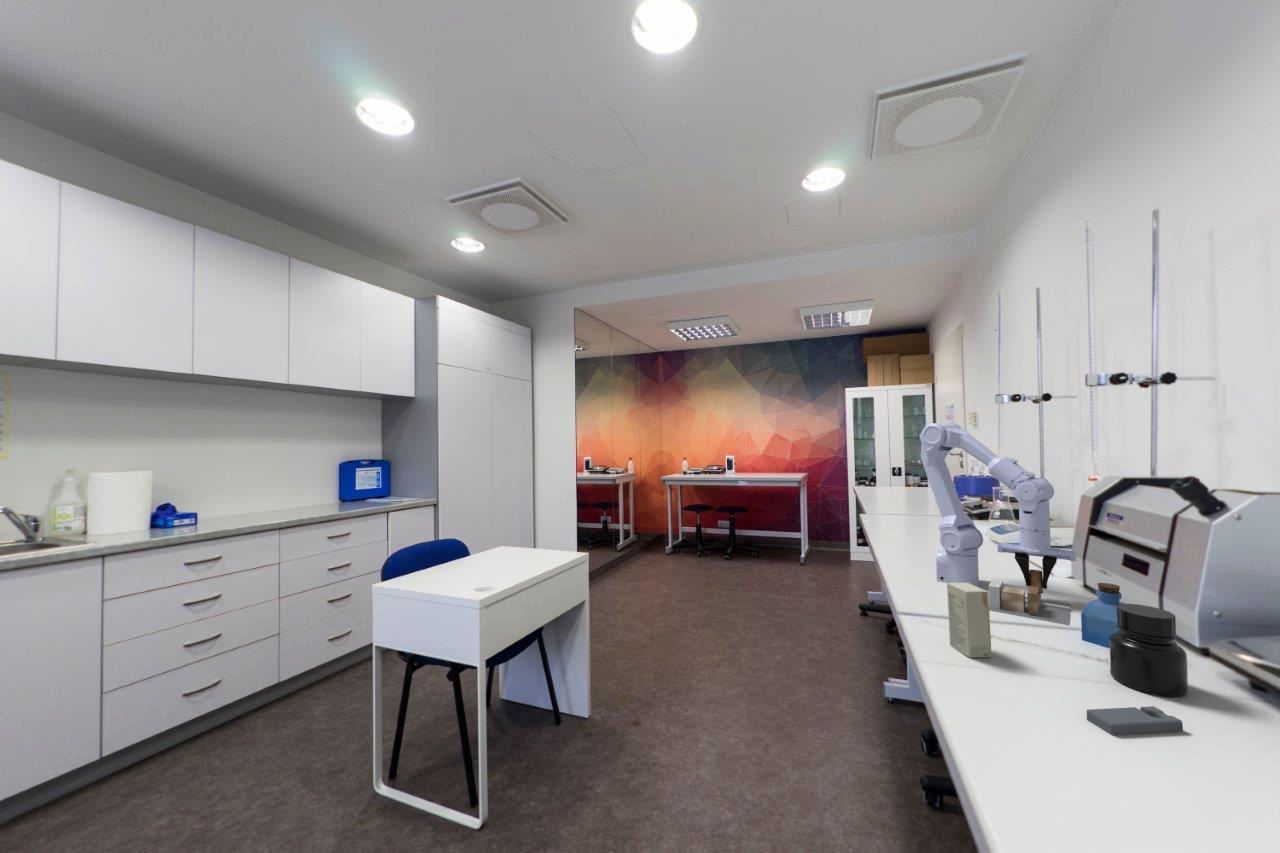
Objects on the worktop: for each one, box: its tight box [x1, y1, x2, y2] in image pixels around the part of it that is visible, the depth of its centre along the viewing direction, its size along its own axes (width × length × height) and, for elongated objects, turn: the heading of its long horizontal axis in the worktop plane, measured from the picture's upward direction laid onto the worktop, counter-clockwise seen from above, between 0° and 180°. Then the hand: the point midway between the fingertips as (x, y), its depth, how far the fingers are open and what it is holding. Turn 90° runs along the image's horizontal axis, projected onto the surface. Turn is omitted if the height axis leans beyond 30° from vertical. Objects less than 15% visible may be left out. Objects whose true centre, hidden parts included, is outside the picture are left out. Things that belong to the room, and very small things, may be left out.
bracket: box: [1086, 705, 1184, 737], centre depth 70 cm, size 4×10×2 cm, turn 92°
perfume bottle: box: [1080, 582, 1126, 649], centre depth 94 cm, size 6×6×12 cm
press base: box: [988, 579, 1072, 627], centre depth 113 cm, size 14×16×6 cm
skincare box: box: [946, 583, 993, 658], centre depth 94 cm, size 6×4×12 cm
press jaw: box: [1027, 569, 1044, 615], centre depth 113 cm, size 2×13×7 cm, turn 138°
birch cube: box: [1001, 586, 1026, 613], centre depth 113 cm, size 4×4×4 cm
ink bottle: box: [1108, 603, 1189, 697], centre depth 81 cm, size 10×9×12 cm
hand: (1036, 586), depth 117 cm, fingers closed on press jaw, 2 cm apart
